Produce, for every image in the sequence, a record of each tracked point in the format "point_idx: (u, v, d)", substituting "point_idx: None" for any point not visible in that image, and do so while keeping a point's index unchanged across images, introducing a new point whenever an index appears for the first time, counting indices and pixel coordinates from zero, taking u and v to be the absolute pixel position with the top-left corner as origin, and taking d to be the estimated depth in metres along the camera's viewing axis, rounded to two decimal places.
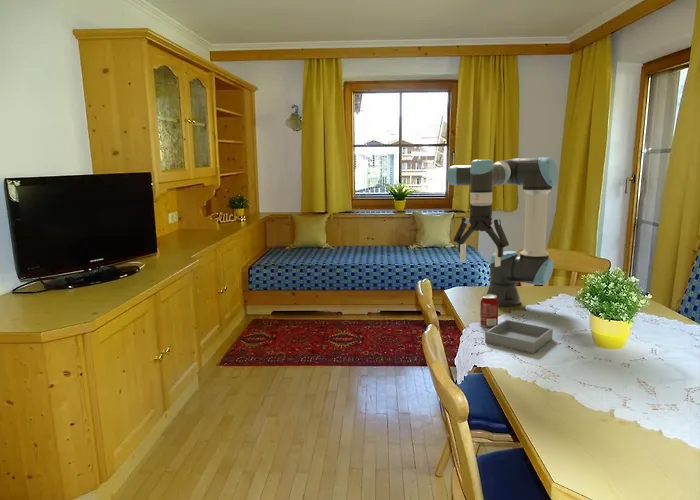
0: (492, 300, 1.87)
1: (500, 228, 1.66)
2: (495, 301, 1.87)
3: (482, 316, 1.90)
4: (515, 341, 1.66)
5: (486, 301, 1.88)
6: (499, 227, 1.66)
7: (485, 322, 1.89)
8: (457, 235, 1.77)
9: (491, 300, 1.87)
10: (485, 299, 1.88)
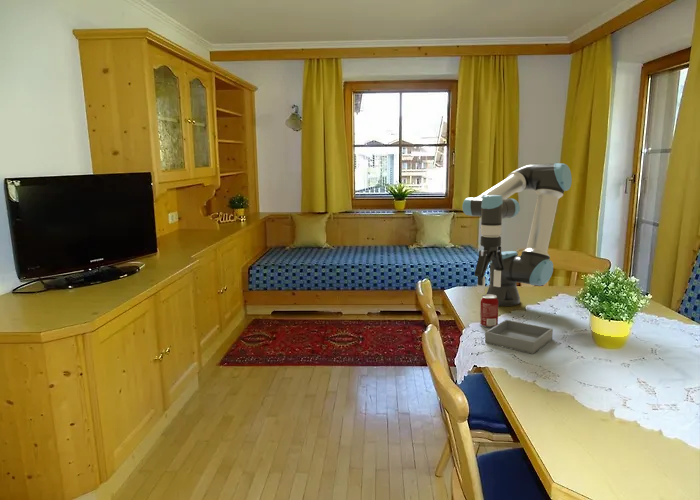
0: (492, 300, 1.87)
1: (481, 259, 1.81)
2: (495, 301, 1.87)
3: (482, 316, 1.90)
4: (515, 341, 1.66)
5: (486, 301, 1.88)
6: (480, 258, 1.82)
7: (485, 322, 1.89)
8: None
9: (491, 300, 1.87)
10: (485, 299, 1.88)
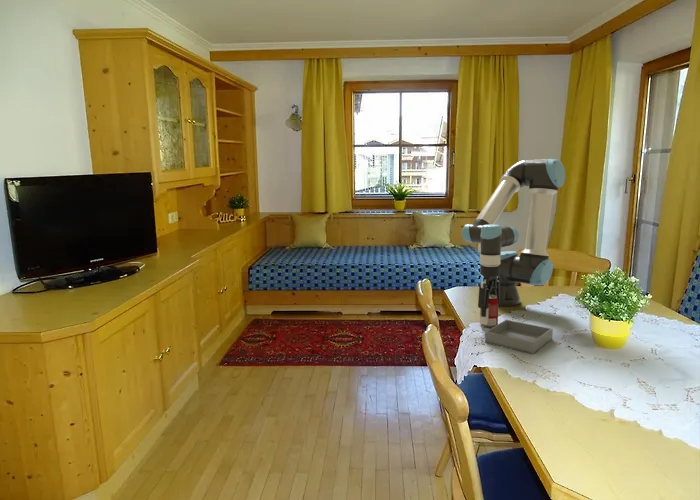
0: (492, 300, 1.87)
1: (481, 291, 1.84)
2: (495, 301, 1.87)
3: None
4: (515, 341, 1.66)
5: None
6: (481, 290, 1.85)
7: None
8: None
9: (491, 300, 1.87)
10: None
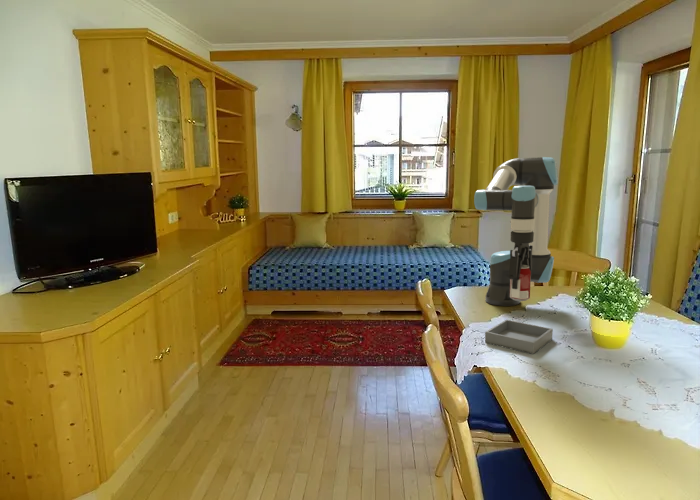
0: (524, 270, 1.67)
1: (513, 260, 1.65)
2: (527, 271, 1.68)
3: None
4: (515, 341, 1.66)
5: None
6: (512, 259, 1.65)
7: None
8: None
9: (523, 270, 1.67)
10: None
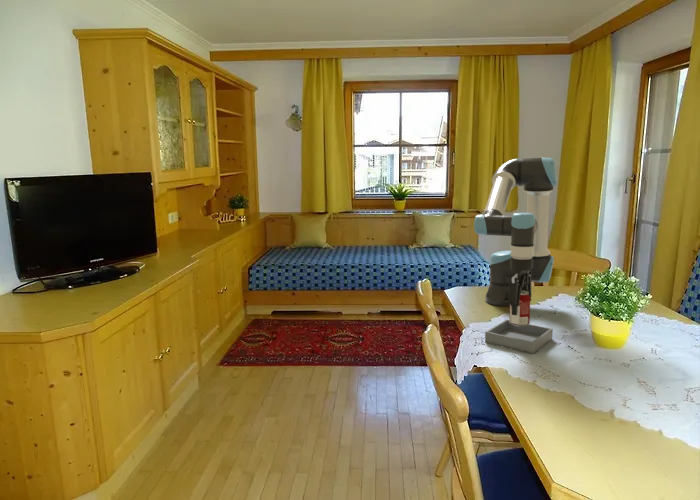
0: (524, 296, 1.69)
1: (513, 287, 1.66)
2: (527, 297, 1.69)
3: None
4: (515, 341, 1.66)
5: None
6: (512, 285, 1.66)
7: None
8: None
9: (523, 296, 1.69)
10: None
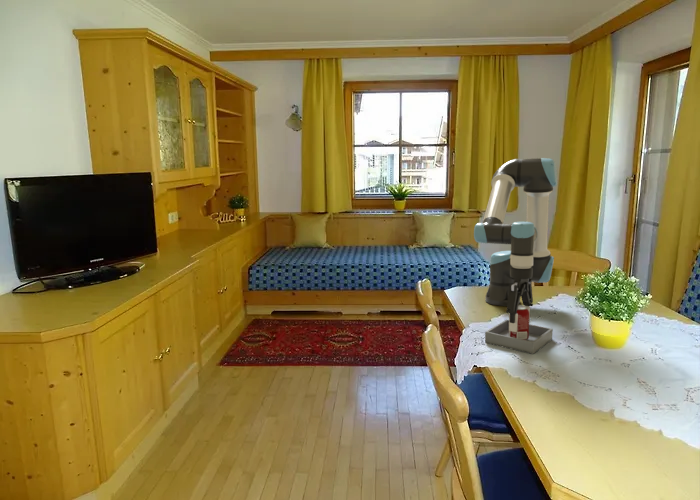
0: (523, 311, 1.70)
1: (512, 294, 1.66)
2: (526, 312, 1.70)
3: None
4: (515, 341, 1.66)
5: None
6: (511, 293, 1.67)
7: (514, 335, 1.72)
8: None
9: (521, 311, 1.70)
10: None
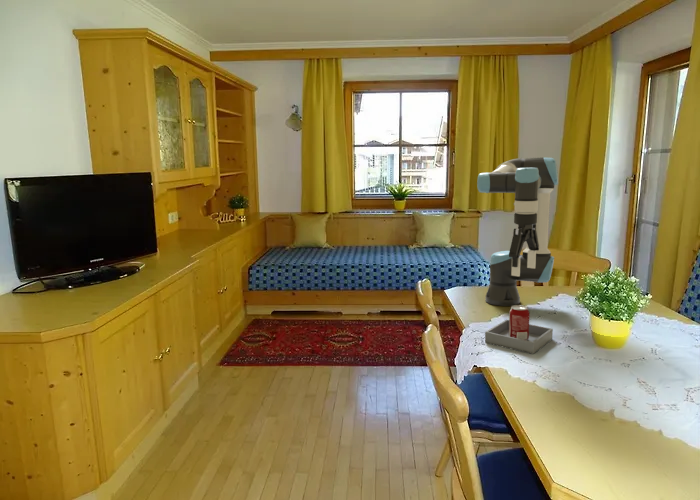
0: (523, 312, 1.70)
1: (515, 238, 1.65)
2: (526, 313, 1.70)
3: (511, 329, 1.72)
4: (515, 341, 1.66)
5: (516, 313, 1.70)
6: (515, 237, 1.66)
7: (514, 335, 1.72)
8: None
9: (522, 312, 1.70)
10: (515, 311, 1.71)
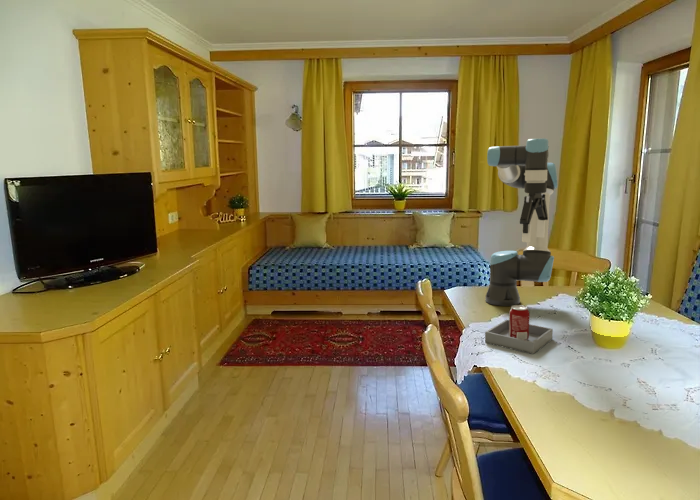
0: (523, 312, 1.70)
1: (526, 205, 1.73)
2: (526, 313, 1.70)
3: (511, 329, 1.72)
4: (515, 341, 1.66)
5: (516, 313, 1.70)
6: (525, 204, 1.73)
7: (514, 335, 1.72)
8: None
9: (522, 312, 1.70)
10: (515, 311, 1.71)
